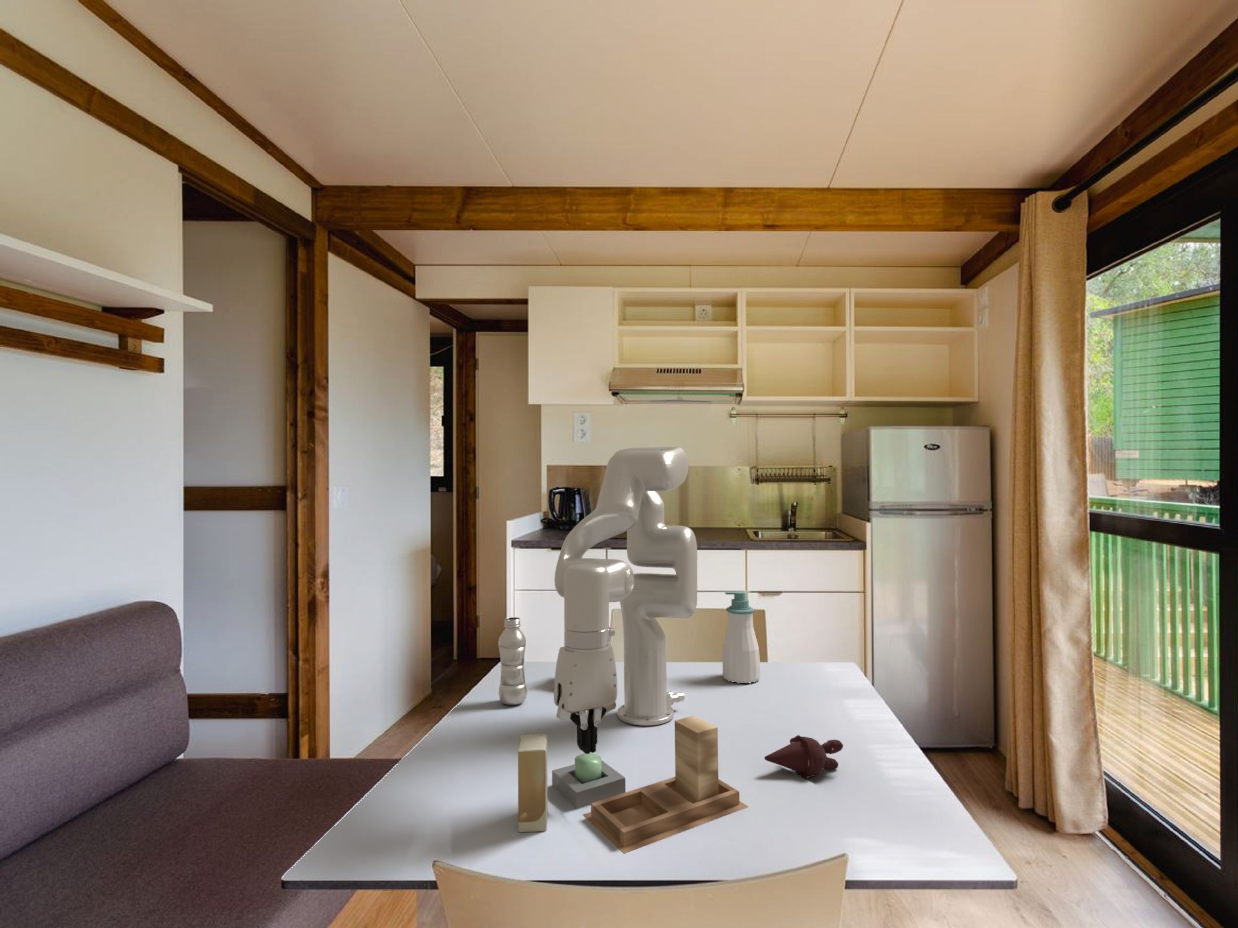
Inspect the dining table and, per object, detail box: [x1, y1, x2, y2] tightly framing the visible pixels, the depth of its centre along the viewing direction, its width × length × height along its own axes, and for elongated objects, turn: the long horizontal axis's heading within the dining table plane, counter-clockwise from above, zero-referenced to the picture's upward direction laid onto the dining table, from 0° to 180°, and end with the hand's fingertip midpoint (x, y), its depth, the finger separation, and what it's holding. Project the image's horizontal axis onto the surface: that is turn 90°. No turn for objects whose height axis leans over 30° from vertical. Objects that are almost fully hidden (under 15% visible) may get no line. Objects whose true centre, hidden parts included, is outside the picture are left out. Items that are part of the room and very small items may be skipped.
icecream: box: [764, 734, 844, 780], centre depth 110 cm, size 7×7×15 cm
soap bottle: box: [722, 591, 761, 684], centre depth 165 cm, size 10×10×23 cm
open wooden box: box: [582, 776, 749, 854], centre depth 96 cm, size 23×12×3 cm, turn 121°
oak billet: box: [674, 715, 719, 804], centre depth 99 cm, size 4×6×12 cm, turn 32°
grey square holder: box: [551, 759, 627, 810], centre depth 103 cm, size 9×9×4 cm
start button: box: [574, 752, 602, 784], centre depth 103 cm, size 4×4×4 cm
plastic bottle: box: [498, 616, 528, 706], centre depth 148 cm, size 6×7×20 cm
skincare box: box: [517, 733, 549, 833], centre depth 95 cm, size 6×4×12 cm
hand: (587, 749), depth 103 cm, fingers closed
